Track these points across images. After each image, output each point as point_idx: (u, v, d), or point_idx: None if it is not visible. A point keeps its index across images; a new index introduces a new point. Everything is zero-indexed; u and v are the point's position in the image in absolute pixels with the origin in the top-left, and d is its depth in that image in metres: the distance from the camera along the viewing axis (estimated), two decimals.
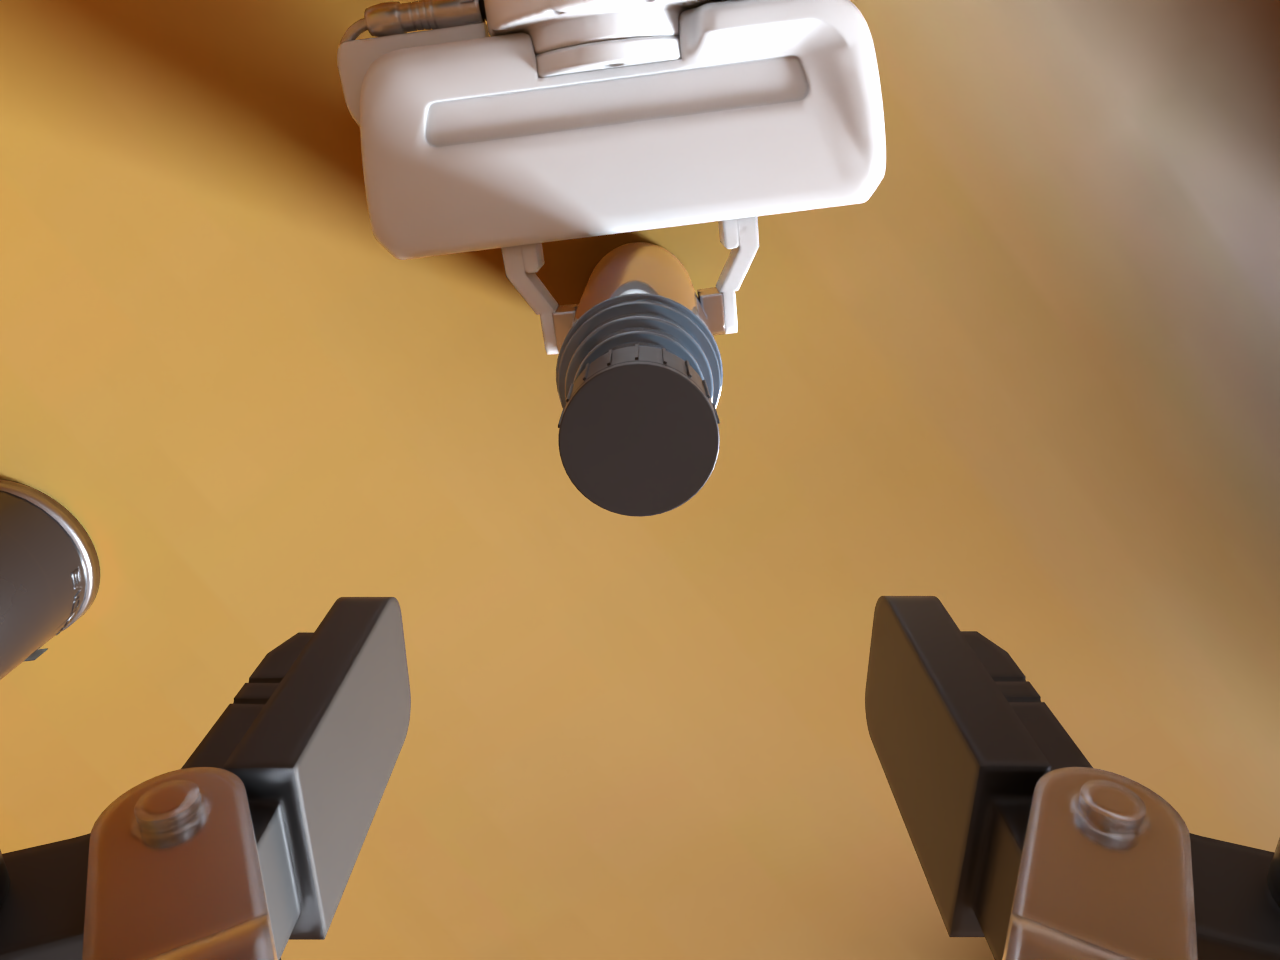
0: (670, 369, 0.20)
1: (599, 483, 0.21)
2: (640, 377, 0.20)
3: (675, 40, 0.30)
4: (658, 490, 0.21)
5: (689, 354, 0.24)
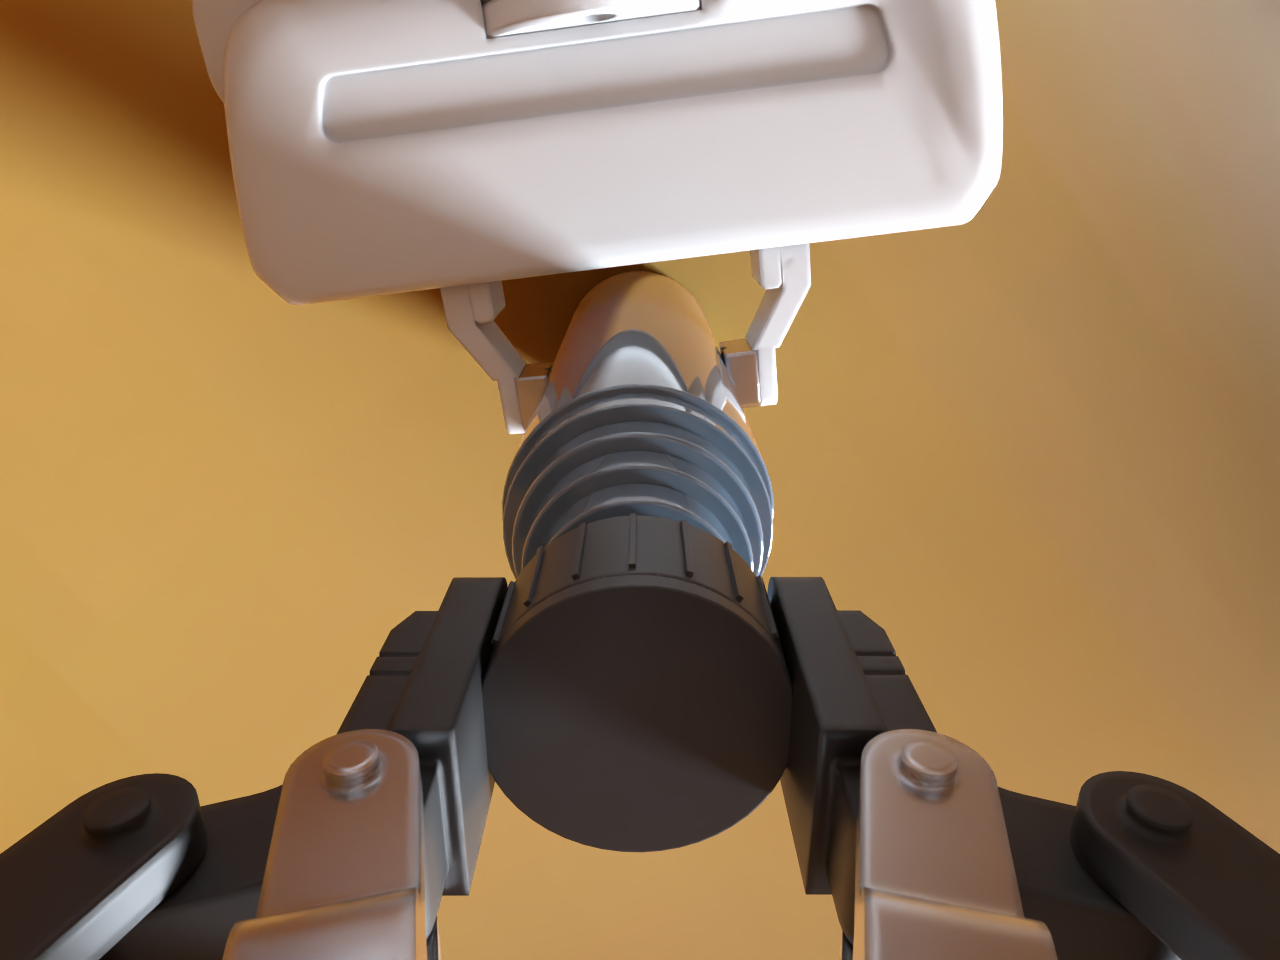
0: (701, 594, 0.10)
1: (559, 797, 0.11)
2: (639, 611, 0.10)
3: None
4: (675, 809, 0.11)
5: (725, 503, 0.14)
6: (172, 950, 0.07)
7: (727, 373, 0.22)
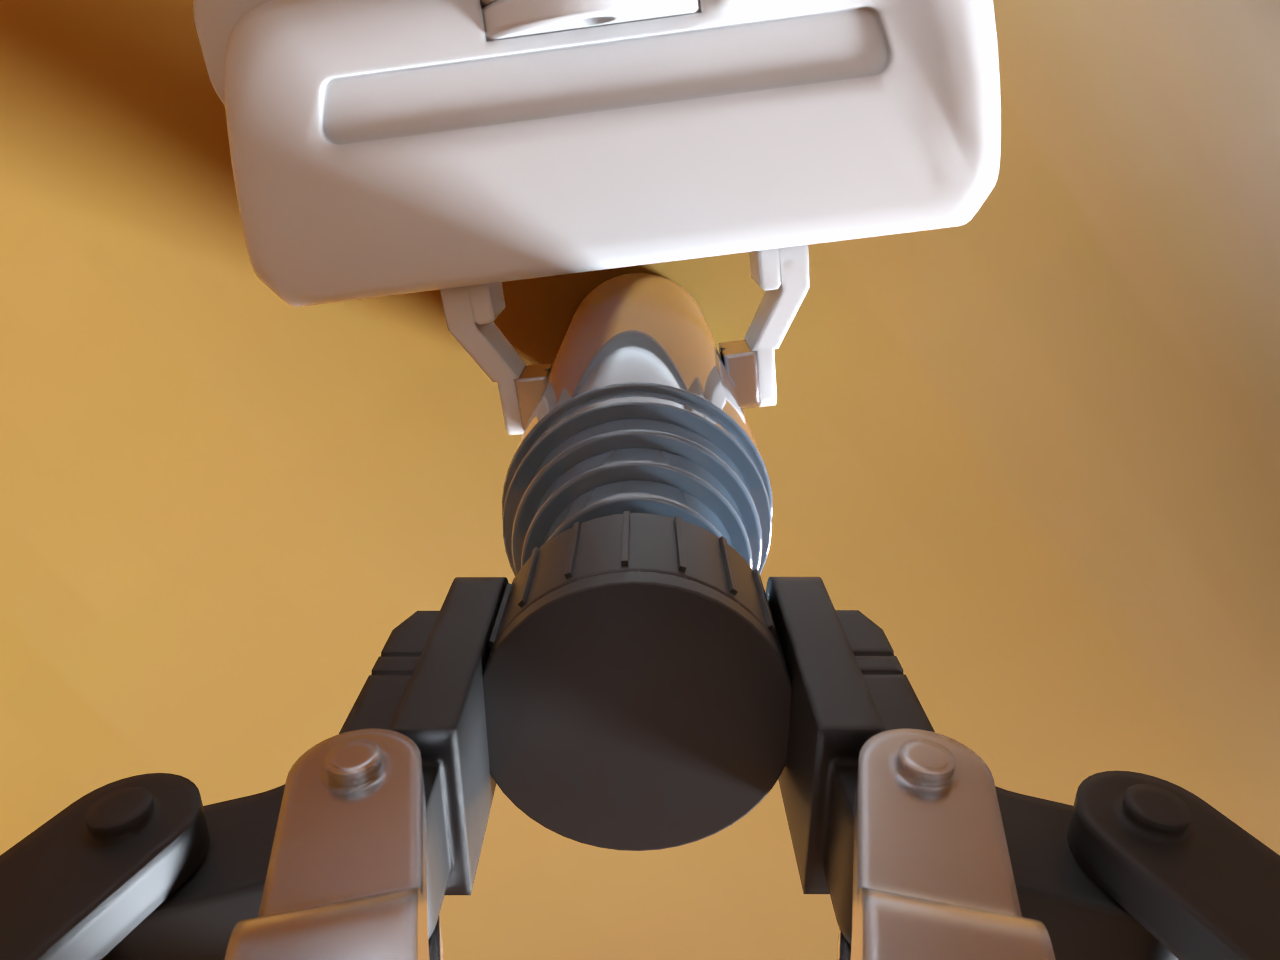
0: (492, 653, 0.10)
1: (708, 799, 0.11)
2: (501, 708, 0.10)
3: None
4: (744, 704, 0.10)
5: (724, 500, 0.14)
6: (175, 949, 0.07)
7: (726, 373, 0.22)
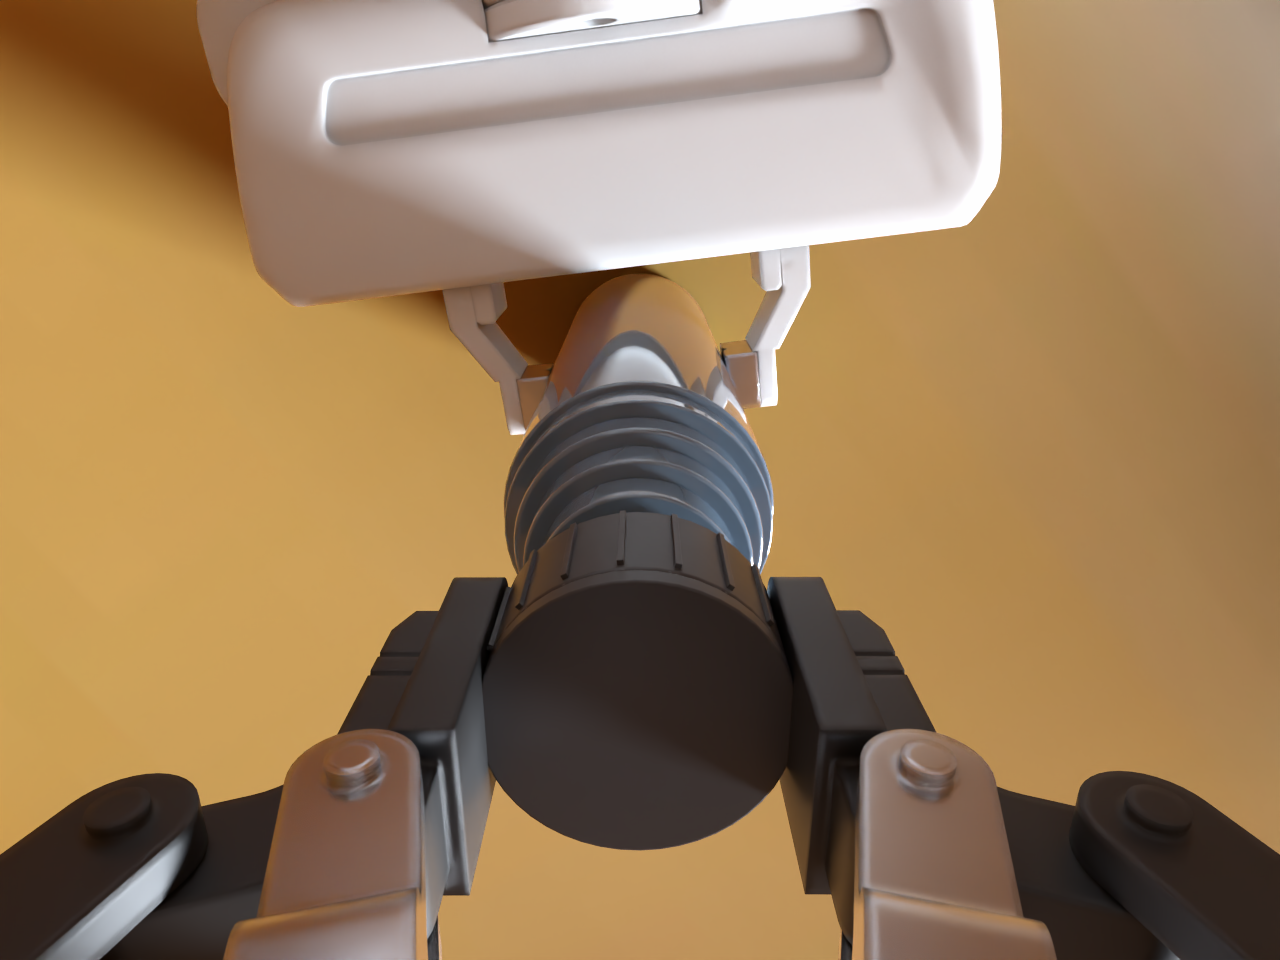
0: (543, 821, 0.11)
1: (741, 671, 0.10)
2: (600, 827, 0.11)
3: None
4: (626, 628, 0.10)
5: (725, 497, 0.14)
6: (173, 950, 0.07)
7: (727, 372, 0.22)
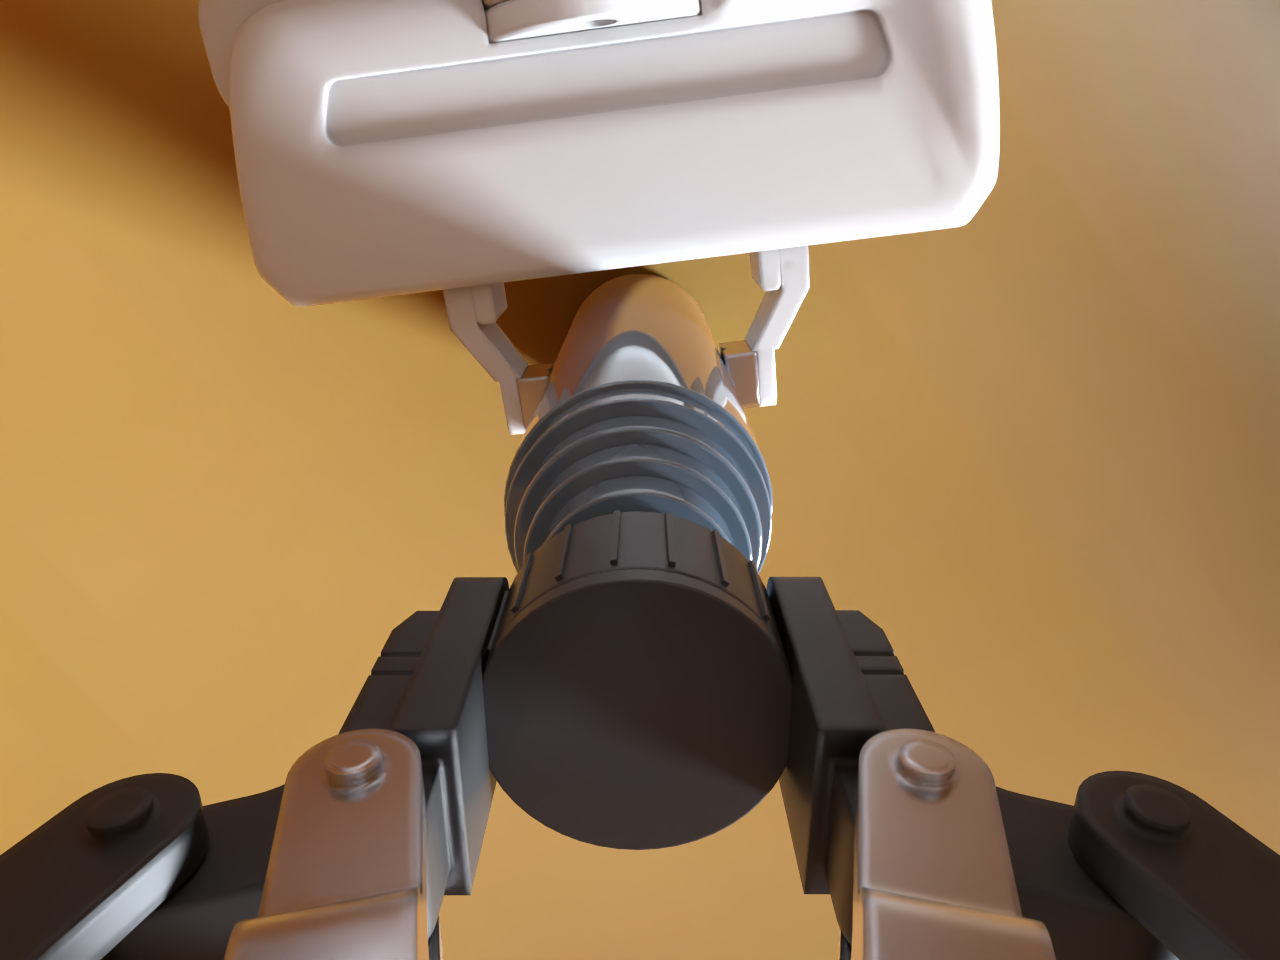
0: (743, 813, 0.11)
1: (586, 628, 0.10)
2: (756, 770, 0.10)
3: None
4: (526, 719, 0.10)
5: (724, 495, 0.14)
6: (174, 950, 0.07)
7: (726, 372, 0.22)
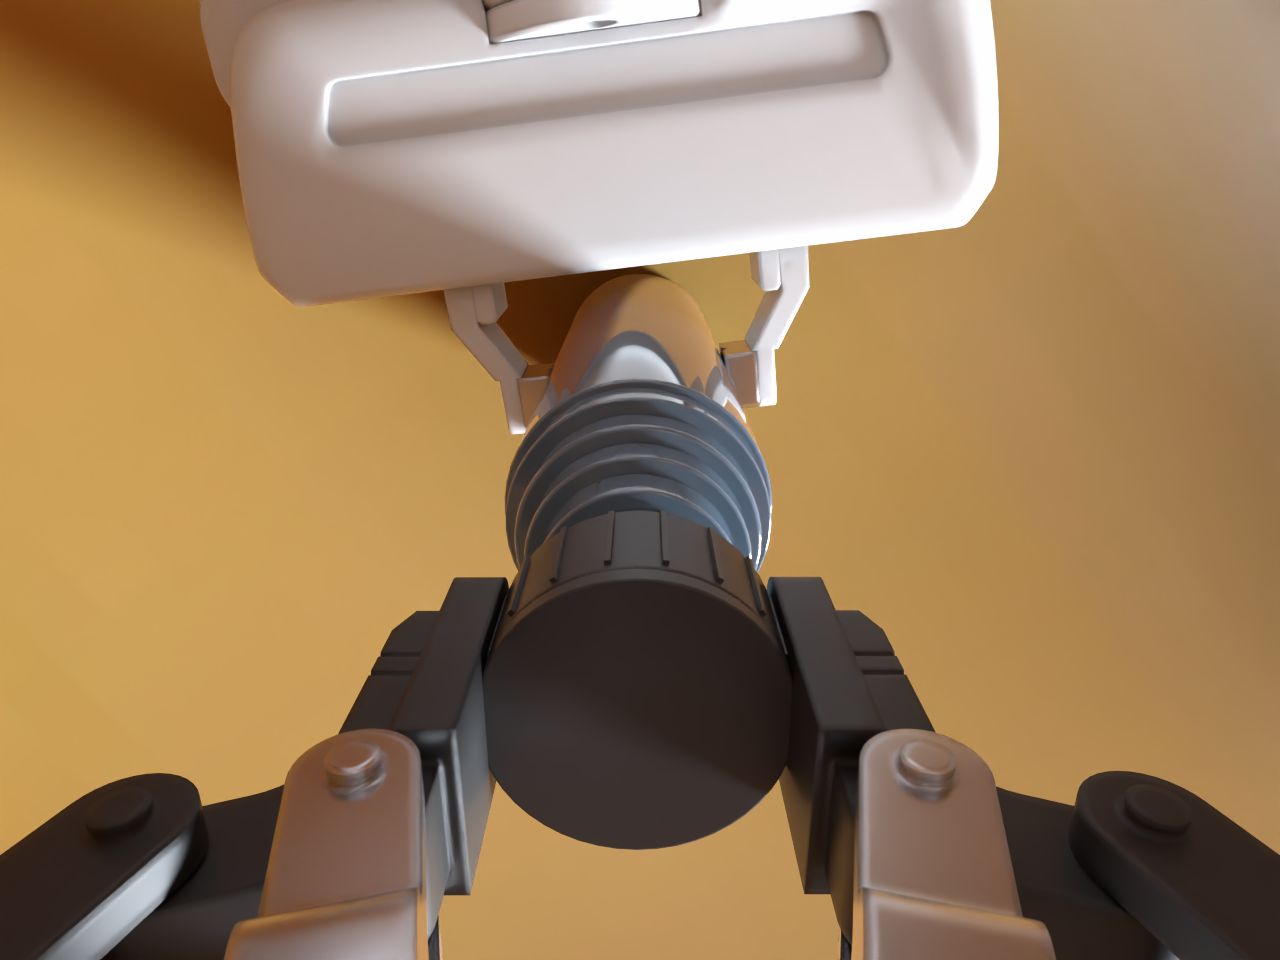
0: (771, 638, 0.10)
1: (523, 749, 0.10)
2: (713, 625, 0.10)
3: None
4: (617, 810, 0.11)
5: (723, 493, 0.14)
6: (174, 949, 0.07)
7: (726, 371, 0.22)
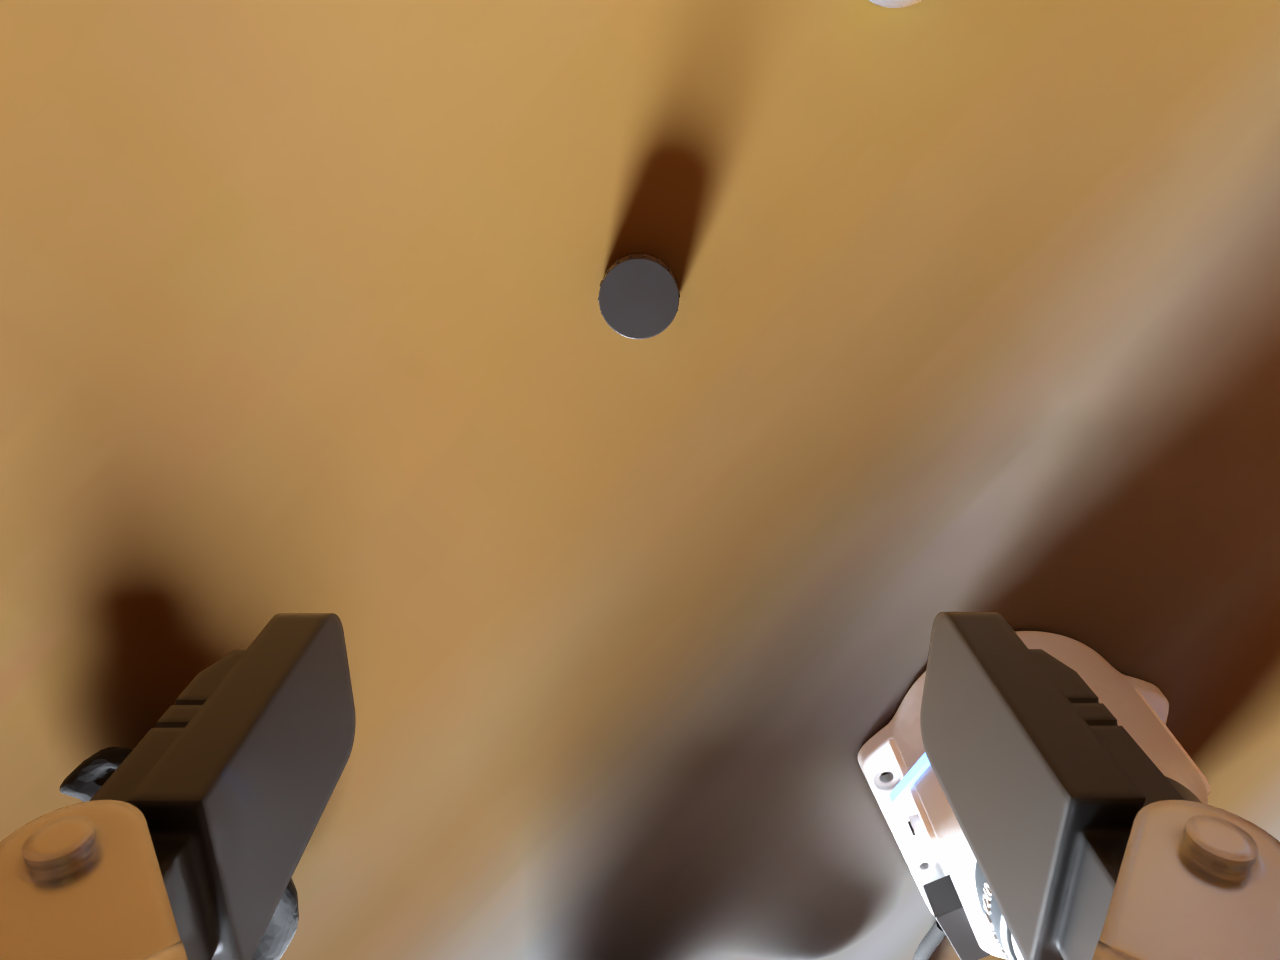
0: (619, 263, 0.41)
1: (642, 328, 0.42)
2: (613, 277, 0.41)
3: None
4: (664, 308, 0.42)
5: None
6: None
7: None
